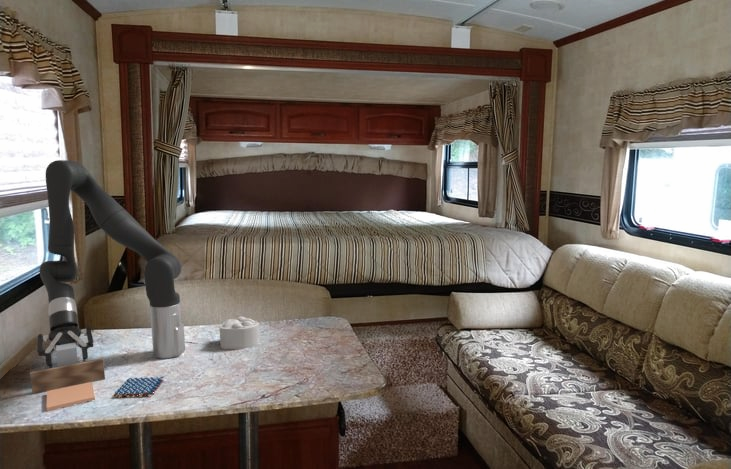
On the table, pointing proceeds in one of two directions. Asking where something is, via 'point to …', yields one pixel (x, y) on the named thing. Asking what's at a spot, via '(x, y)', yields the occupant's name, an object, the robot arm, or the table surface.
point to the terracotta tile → (69, 396)
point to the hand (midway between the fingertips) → (67, 363)
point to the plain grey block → (66, 354)
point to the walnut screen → (67, 376)
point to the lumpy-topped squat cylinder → (239, 333)
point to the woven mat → (139, 387)
